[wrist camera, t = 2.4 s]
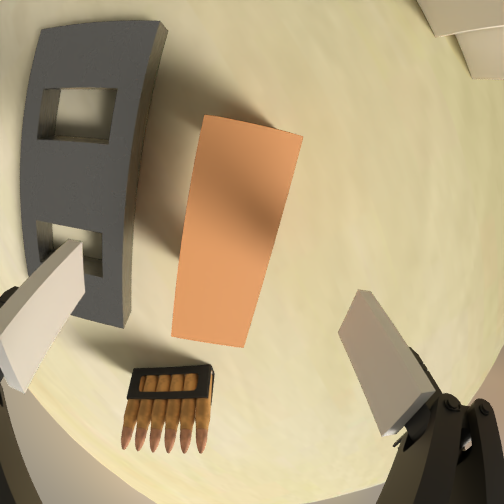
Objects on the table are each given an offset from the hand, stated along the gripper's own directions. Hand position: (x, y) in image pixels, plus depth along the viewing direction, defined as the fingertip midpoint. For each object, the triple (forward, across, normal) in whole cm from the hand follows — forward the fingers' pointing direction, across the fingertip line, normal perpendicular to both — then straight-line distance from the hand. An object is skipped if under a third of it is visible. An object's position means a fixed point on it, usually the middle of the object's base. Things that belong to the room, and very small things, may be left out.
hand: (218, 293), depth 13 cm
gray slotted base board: (+14, -14, 0) cm, 20 cm away
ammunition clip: (+14, -3, -23) cm, 27 cm away
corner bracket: (+14, +20, +26) cm, 36 cm away
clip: (+14, 0, 0) cm, 14 cm away
